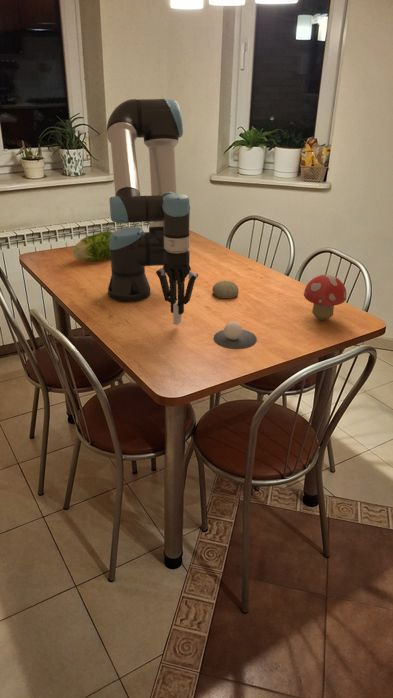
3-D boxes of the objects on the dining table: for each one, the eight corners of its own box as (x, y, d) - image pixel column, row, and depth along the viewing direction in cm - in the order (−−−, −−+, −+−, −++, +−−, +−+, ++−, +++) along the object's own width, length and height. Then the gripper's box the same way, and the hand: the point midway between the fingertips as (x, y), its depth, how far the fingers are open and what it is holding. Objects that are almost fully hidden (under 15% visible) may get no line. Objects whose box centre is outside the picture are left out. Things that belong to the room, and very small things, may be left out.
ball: (219, 326, 156) (236, 325, 154) (225, 319, 161) (242, 318, 158) (223, 343, 159) (240, 342, 156) (229, 335, 163) (246, 334, 160)
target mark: (207, 344, 157) (207, 343, 157) (221, 326, 167) (221, 325, 167) (249, 352, 152) (249, 351, 152) (261, 333, 163) (261, 332, 163)
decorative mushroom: (350, 326, 168) (357, 282, 161) (310, 329, 166) (315, 285, 158) (332, 309, 180) (338, 267, 172) (295, 312, 177) (299, 270, 170)
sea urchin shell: (239, 296, 185) (223, 279, 183) (223, 309, 189) (207, 293, 187) (242, 286, 193) (227, 270, 191) (226, 299, 196) (212, 284, 195)
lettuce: (68, 262, 221) (65, 235, 216) (111, 252, 232) (109, 227, 227) (82, 269, 213) (79, 242, 208) (125, 259, 225) (124, 233, 219)
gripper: (150, 250, 153) (153, 324, 164) (192, 256, 149) (192, 331, 160) (161, 243, 159) (163, 314, 170) (202, 248, 155) (201, 321, 166)
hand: (177, 322), depth 165 cm, fingers closed
